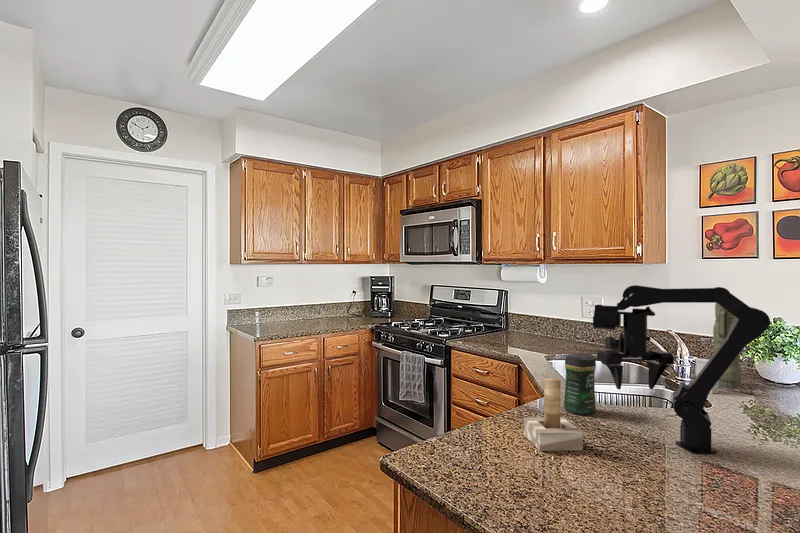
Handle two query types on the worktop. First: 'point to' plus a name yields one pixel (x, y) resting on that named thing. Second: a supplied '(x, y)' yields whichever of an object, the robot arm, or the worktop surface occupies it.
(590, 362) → the coffee jar
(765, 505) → the worktop surface
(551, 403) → the wooden stick
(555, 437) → the socket block
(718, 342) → the thermos
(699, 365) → the skincare box
